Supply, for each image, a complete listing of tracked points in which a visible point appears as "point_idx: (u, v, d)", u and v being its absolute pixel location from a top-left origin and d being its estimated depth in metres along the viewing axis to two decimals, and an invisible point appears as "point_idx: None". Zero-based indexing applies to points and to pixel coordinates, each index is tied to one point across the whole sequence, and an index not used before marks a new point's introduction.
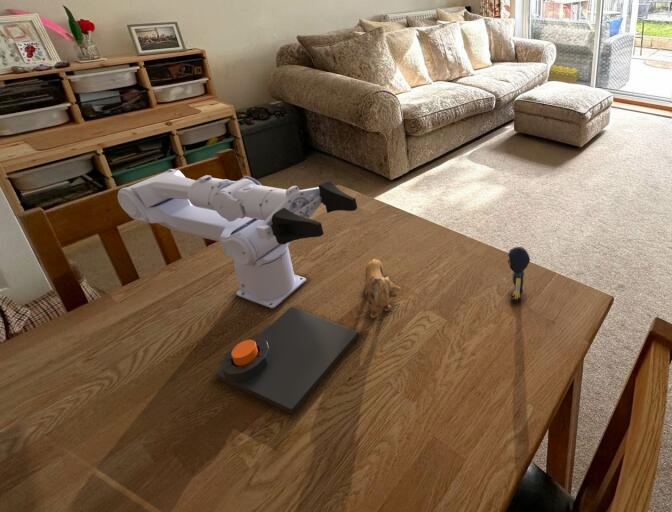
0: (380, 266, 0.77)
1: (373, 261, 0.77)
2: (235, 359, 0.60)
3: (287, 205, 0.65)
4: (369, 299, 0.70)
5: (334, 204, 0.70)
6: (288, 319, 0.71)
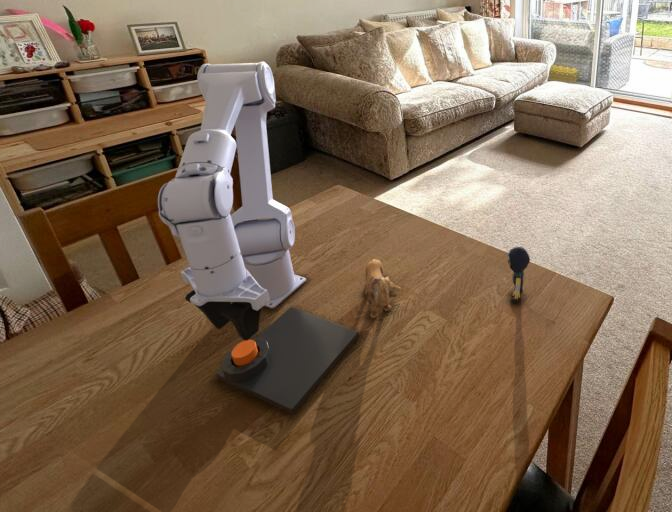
0: (380, 266, 0.77)
1: (373, 261, 0.77)
2: (235, 359, 0.60)
3: None
4: (369, 299, 0.70)
5: None
6: (288, 319, 0.71)
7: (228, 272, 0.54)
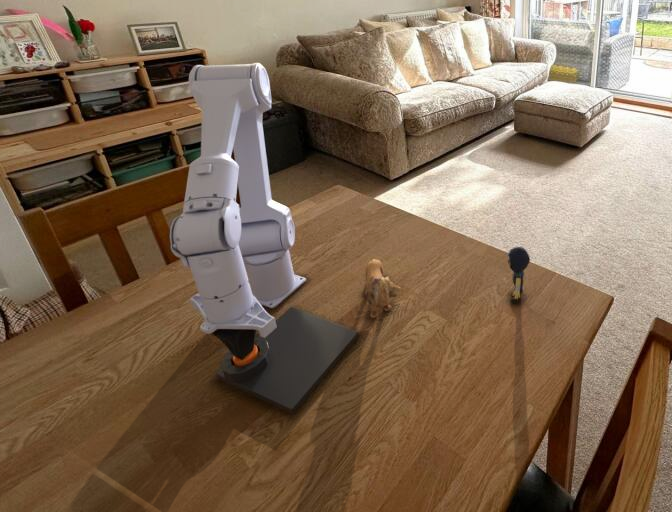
0: (380, 266, 0.77)
1: (373, 261, 0.77)
2: (237, 364, 0.61)
3: None
4: (369, 299, 0.70)
5: None
6: (288, 319, 0.71)
7: (236, 300, 0.56)
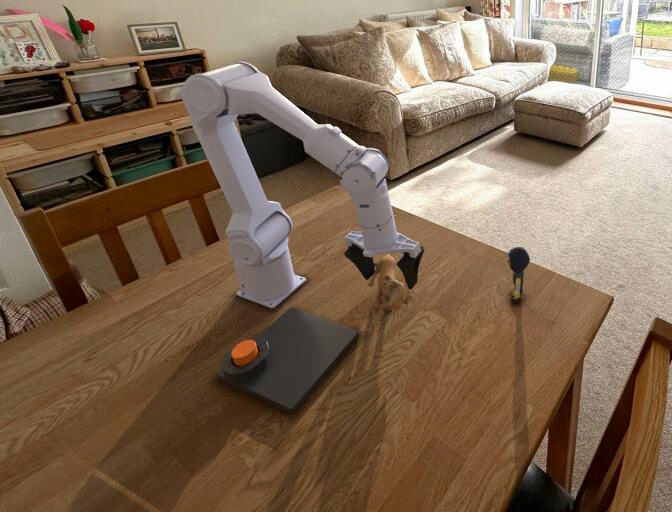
0: (394, 265, 0.77)
1: (389, 258, 0.77)
2: (235, 359, 0.60)
3: None
4: (382, 299, 0.70)
5: None
6: (288, 319, 0.71)
7: (389, 230, 0.69)
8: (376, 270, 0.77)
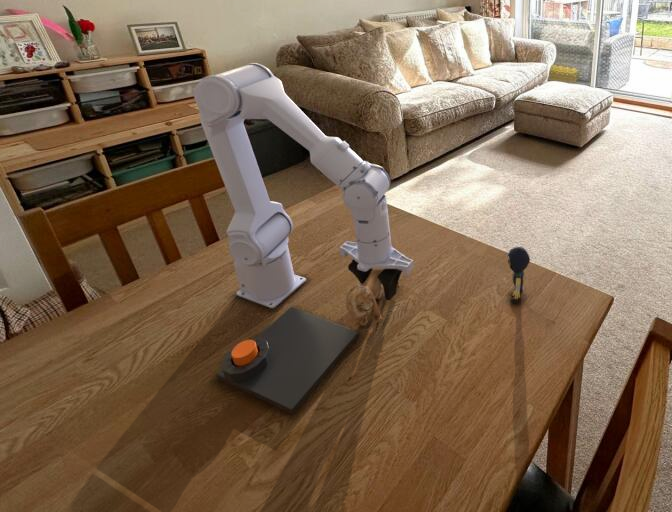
0: None
1: None
2: (235, 359, 0.60)
3: None
4: None
5: None
6: (288, 319, 0.71)
7: (385, 246, 0.70)
8: None
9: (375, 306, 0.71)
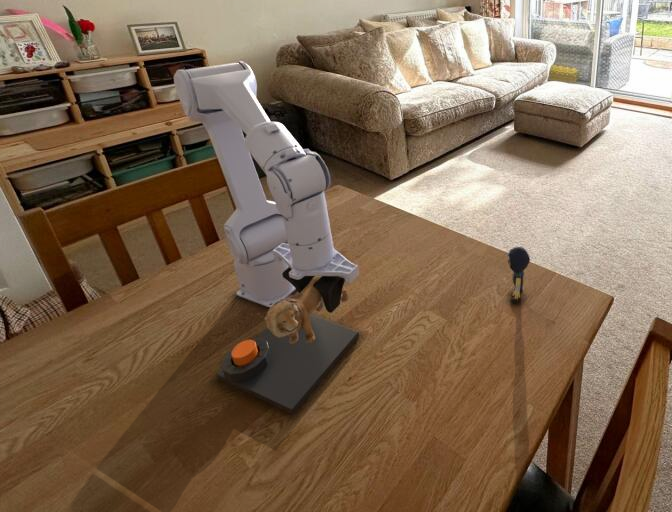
0: None
1: None
2: (235, 359, 0.60)
3: None
4: None
5: None
6: None
7: (323, 248, 0.59)
8: None
9: (306, 324, 0.59)
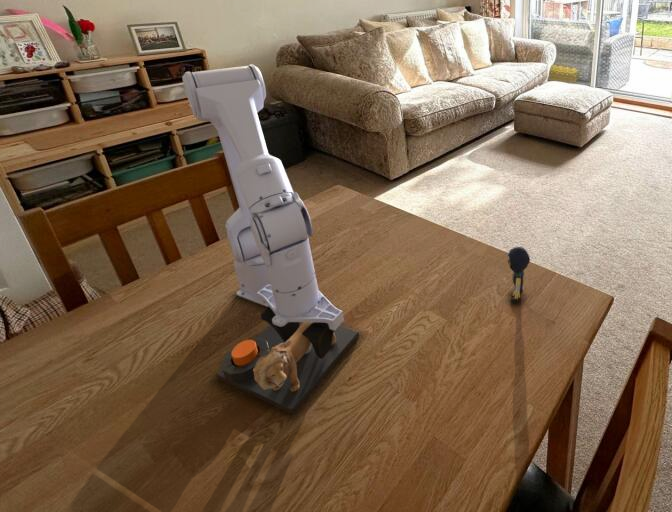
0: None
1: None
2: (235, 359, 0.60)
3: None
4: None
5: None
6: None
7: (307, 294, 0.58)
8: None
9: (293, 373, 0.58)
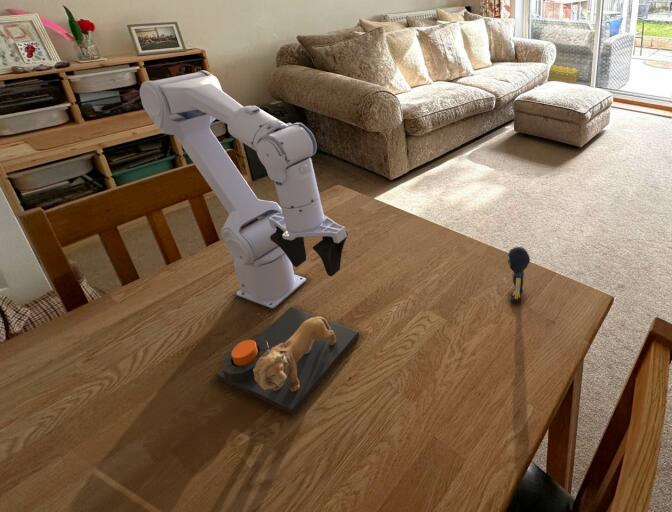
0: (314, 331, 0.62)
1: (311, 320, 0.63)
2: (235, 359, 0.60)
3: None
4: None
5: None
6: (288, 319, 0.71)
7: (312, 211, 0.64)
8: None
9: (293, 373, 0.58)
